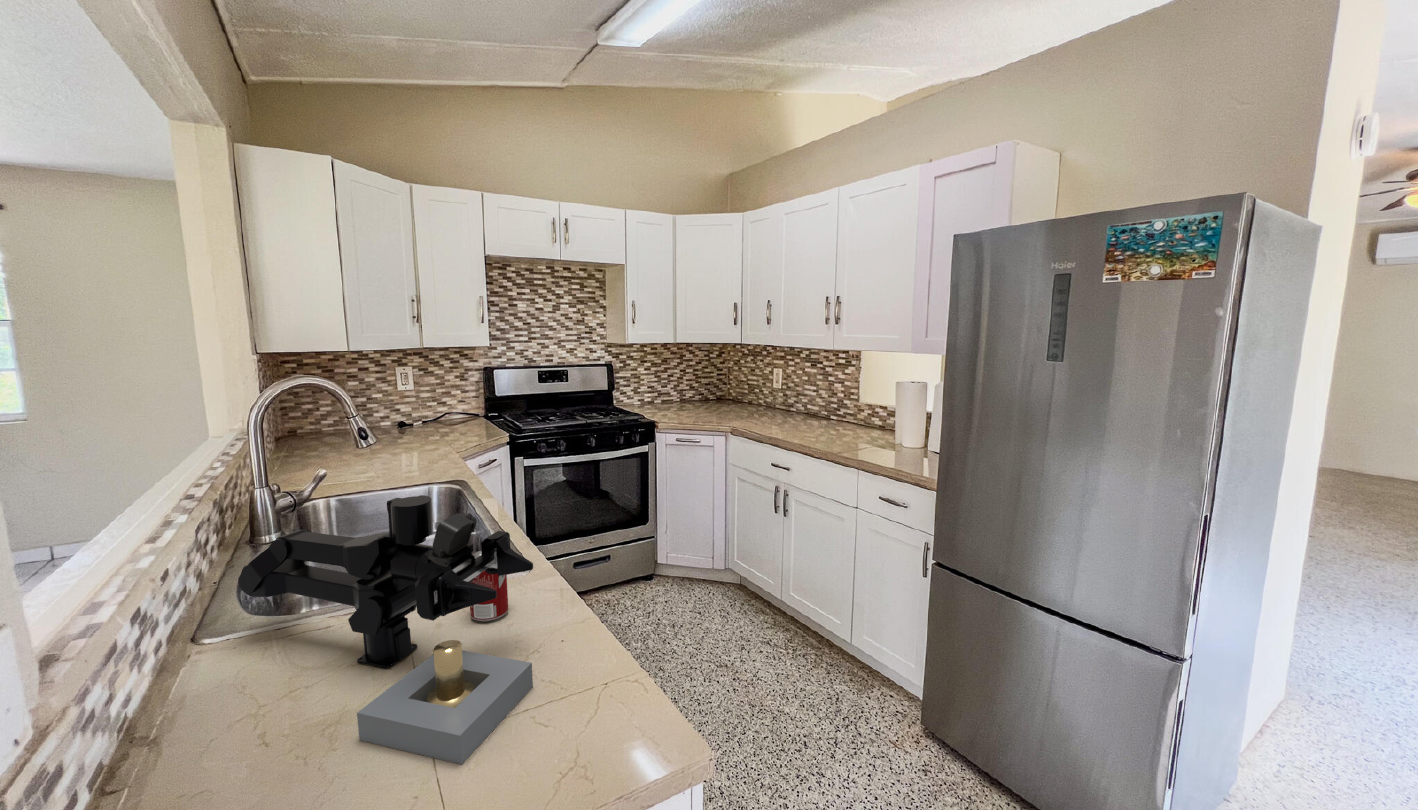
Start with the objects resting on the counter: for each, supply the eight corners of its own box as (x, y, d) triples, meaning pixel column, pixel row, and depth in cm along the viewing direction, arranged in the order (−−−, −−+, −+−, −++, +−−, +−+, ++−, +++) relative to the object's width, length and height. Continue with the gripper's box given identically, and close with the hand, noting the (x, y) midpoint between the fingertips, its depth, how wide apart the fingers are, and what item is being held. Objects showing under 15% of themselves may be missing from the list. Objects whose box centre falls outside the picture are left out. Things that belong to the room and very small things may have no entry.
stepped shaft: (418, 722, 79) (413, 655, 78) (449, 695, 85) (444, 632, 84) (455, 730, 78) (450, 662, 76) (483, 702, 83) (479, 638, 82)
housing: (359, 740, 76) (356, 712, 75) (444, 670, 91) (442, 647, 91) (461, 764, 72) (459, 735, 71) (532, 686, 87) (531, 662, 86)
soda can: (495, 626, 104) (492, 563, 103) (462, 622, 106) (458, 560, 104) (515, 608, 111) (512, 549, 109) (484, 604, 112) (480, 546, 111)
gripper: (376, 539, 80) (471, 555, 76) (466, 497, 98) (547, 508, 93) (382, 612, 82) (475, 632, 78) (469, 557, 100) (549, 571, 95)
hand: (515, 579), depth 86 cm, fingers open, 9 cm apart
